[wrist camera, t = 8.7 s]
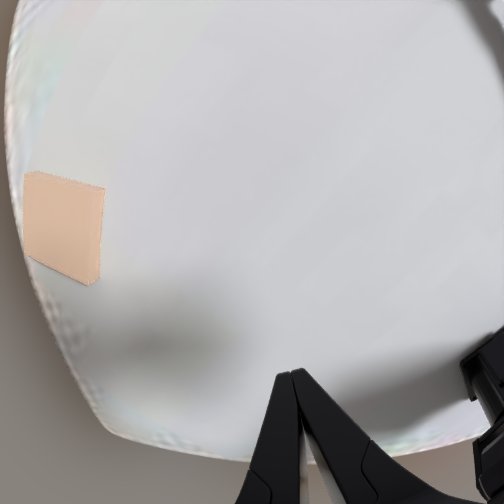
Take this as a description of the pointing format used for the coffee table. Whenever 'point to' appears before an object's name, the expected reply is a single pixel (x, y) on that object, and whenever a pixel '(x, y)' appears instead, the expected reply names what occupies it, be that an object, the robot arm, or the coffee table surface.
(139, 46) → the coffee table surface
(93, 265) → the tile
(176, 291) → the coffee table surface
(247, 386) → the coffee table surface
